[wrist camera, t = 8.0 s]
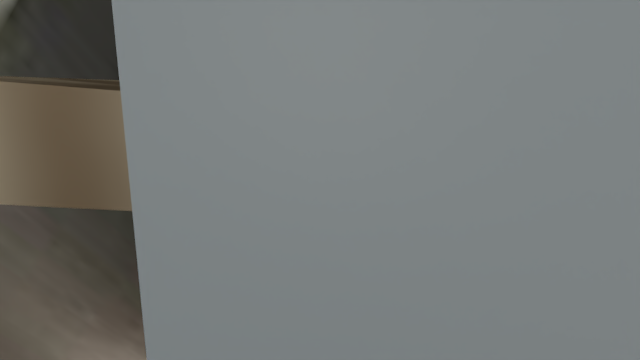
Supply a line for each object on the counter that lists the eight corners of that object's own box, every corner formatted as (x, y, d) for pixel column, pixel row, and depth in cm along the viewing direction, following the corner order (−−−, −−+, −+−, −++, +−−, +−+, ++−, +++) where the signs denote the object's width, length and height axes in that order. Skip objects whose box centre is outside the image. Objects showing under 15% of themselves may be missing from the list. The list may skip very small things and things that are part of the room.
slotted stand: (153, 155, 20) (-57, 254, 8) (145, 53, 18) (-135, -5, 6) (457, 175, 21) (642, 280, 10) (476, 83, 19) (731, 79, 8)
